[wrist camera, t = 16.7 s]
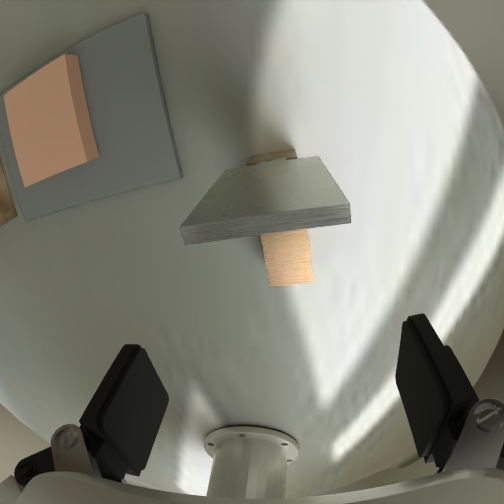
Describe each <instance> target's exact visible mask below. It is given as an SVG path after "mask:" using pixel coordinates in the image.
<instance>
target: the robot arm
mask: <svg viewBox="0 0 504 504" xmlns="http://www.w3.org/2000/svg"><path fill="white" fill-rule="evenodd" d="M395 377H396V384H397V387H398V390H399V393H400V396H401V399H402V402H403V405H404V408H405V412H406V415H407V418H408V421H409V425H410V428H411V431H412V435H413V438H414V442H415V445H416V449H417V452H418V455H419V457H423V456H424V459H425V463H429V462H432V461H435V464H436V467H438V470H437V472H436V474H433V475H430V476H425V477H421V478H417V479H413V480H409V481H405V482H401V483H397V484H392V485H387V486H382V487H377V488H372V489H366V490H360V491H354V492H348V493H341V494H333V495H325V496H314V497H301V498H285V490H286V467H287V465H288V464H290V463H292V462H294V461H295V460H296V459H297V457H298V456H299V446H298V444H297V442H296V441H295V440H294V439H293V438H291V437H290V436H288V435H286V434H284V433H281V432H278V431H275V430H271V429H266V428H260V427H250V426H237V427H227V428H222V429H219V430H216V431H214V432H212V433H210V434H209V435H208V436H207V437H206V439H205V444H204V448H205V451H206V452H207V453H208V455H210V456H211V457H212V458H213V465H212V470H211V475H210V480H209V485H208V491H207V496H197V495H188V494H180V493H173V492H166V491H160V490H154V489H149V488H144V487H139V486H134V485H130V484H127V482H126V480H125V478H124V477H125V474H126V473H127V474H130V475H135V476H139V475H140V473H141V470H144V469H145V467H146V464H147V461H148V458H149V456H150V453H151V450H152V447H153V444H154V441H155V439H156V436H157V433H158V430H159V427H160V425H161V422H162V419H163V416H164V413H165V411H166V408H167V405H168V402H169V397H168V394H167V392H166V390H165V388H164V386H163V384H162V382H161V380H160V379H159V377H158V375H157V373H156V371H155V369H154V367H153V365H152V363H151V361H150V359H149V357H148V355H147V353H146V351H145V349H144V348H142V347H141V346H140V345H138V344H126V345H124V346H123V347H122V349H121V350H120V352H119V354H118V355H117V357H116V359H115V360H114V362H113V364H112V365H111V367H110V369H109V370H108V372H107V374H106V375H105V377H104V379H103V380H102V382H101V384H100V385H99V387H98V389H97V390H96V392H95V394H94V396H93V397H92V399H91V401H90V403H89V404H88V406H87V408H86V410H85V411H84V413H83V415H82V417H81V418H80V420H79V422H80V423H81V426H80V427H78V426H76V425H74V424H67V425H63V426H62V427H60V428H58V429H57V430H56V431H55V432H54V434H53V435H52V438H51V447H49V448H47V449H44V450H42V451H40V452H38V453H36V454H33V455H31V456H29V457H27V458H24V459H23V460H21V461H20V462H19V463H18V464H17V466H16V468H15V472H14V474H15V475H14V476H15V477H14V476H12V475H10V476H9V477H8V478H7V479H5V480H4V481H3V482H2V483H0V504H504V404H503V403H502V402H501V401H498V400H496V399H490V398H488V399H482V400H480V401H479V399H478V397H477V395H476V393H475V391H474V389H473V387H472V385H471V383H470V381H469V380H468V378H467V376H466V374H465V372H464V370H463V369H462V367H461V365H460V363H459V362H458V360H457V358H456V356H455V355H454V353H453V351H452V349H451V348H450V347H449V346H447V345H445V346H443V344H442V342H441V340H440V339H439V337H438V335H437V334H436V332H435V330H434V329H433V327H432V325H431V324H430V322H429V320H428V319H427V317H426V316H425V314H423V313H422V314H417V315H412V316H409V317H408V318H407V321H404V322H403V324H402V333H401V341H400V349H399V356H398V362H397V369H396V376H395Z"/></svg>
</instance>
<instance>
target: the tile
mask: <svg viewBox="0 0 504 504" xmlns="http://www.w3.org/2000/svg"><path fill="white" fill-rule="evenodd" d="M4 101H5V107H6V113H7V118H8V124H9V129H10V133H11V138H12V142H13V146H14V151H15V155H16V159H17V162H18V166H19V170H20V173H21V177H22V180H23V183H24V187H27V186H30V185H32V184H34V183H36V182H39V181H41V180H43V179H45V178H48V177H50V176H53V175H55V174H57V173H60V172H62V171H65V170H67V169H70V168H73V167H75V166H78V165H80V164H83V163H86V162H88V161H91V160H93V159H96V158H98V157H99V153H98V149H97V145H96V141H95V137H94V133H93V129H92V125H91V121H90V116H89V112H88V107H87V103H86V98H85V93H84V88H83V83H82V77H81V72H80V66H79V60H78V55H70V54H64V55H62V56H60V57H59V58H57V59H55V60H54V61H52V62H51V63H49V64H47V65H46V66H44V67H43V68H41V69H40V70H38V71H37V72H35V73H34V74H32V75H31V76H29V77H28V78H26V79H25V80H24V81H22V82H21V83H19V84H18V85H17V86H15V87H14V88H13V89H11V90H10V91H9V92H7V93H6V94H5V95H4Z"/></svg>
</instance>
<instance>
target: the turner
mask: <svg viewBox="0 0 504 504" xmlns="http://www.w3.org/2000/svg"><path fill="white" fill-rule="evenodd" d="M246 165H247V166H246V167H240V168H234V169H229V170H225V171H224V172H223V173H222V175H221V176H220V177H219V178H218V179H217V181H216V182H215V183H214V184H213V186H212V187H211V188H210V189H209V191H208V192H207V193H206V194H205V196H204V197H203V198H202V199H201V201H200V202H199V203H198V205H197V206H196V207H195V208H194V210H193V211H192V212H191V213H190V215H189V216H188V217H187V219H186V220H185V221H184V223H183V224H182V225H181V227H180V229H181V233H182V236H183V240H184V243H185V245H190V244H197V243H204V242H211V241H218V240H225V239H232V238H239V237H247V236H254V235H260V236H261V242H262V247H263V252H264V257H265V262H266V268H267V273H268V278H269V284H270V287H275V286H284V285H292V284H301V283H309V282H313V275H312V265H311V256H310V247H309V239H308V231H307V228H315V227H323V226H331V225H339V224H347V223H351V213H350V203H349V201H348V200H347V198H346V197H345V195H344V193H343V192H342V190H341V189H340V187H339V186H338V184H337V183H336V181H335V180H334V178H333V177H332V175H331V174H330V172H329V171H328V169H327V168H326V166H325V165H324V163H323V162H322V161H321V159H320V158H319V156H314V157H306V158H299V159H297V155H296V151H295V150H288V151H281V152H275V153H268V154H262V155H256V156H251V157H250V159H249V161H248V163H247V164H246Z"/></svg>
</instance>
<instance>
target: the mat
mask: <svg viewBox="0 0 504 504" xmlns="http://www.w3.org/2000/svg"><path fill="white" fill-rule="evenodd" d="M64 54H70V55H78V60H79V66H80V72H81V77H82V83H83V88H84V93H85V98H86V103H87V107H88V112H89V116H90V121H91V125H92V129H93V133H94V137H95V141H96V145H97V149H98V153H99V157H98V158H96V159H93V160H91V161H88V162H86V163H83V164H80V165H78V166H75V167H73V168H70V169H67V170H65V171H62V172H60V173H57V174H55V175H53V176H50V177H48V178H45V179H43V180H41V181H39V182H36V183H34V184H32V185H30V186H27V187H24V183H23V180H22V177H21V173H20V170H19V166H18V162H17V159H16V155H15V151H14V146H13V142H12V138H11V133H10V129H9V124H8V118H7V113H6V107H5V101H4V95H5V94H6V93H7V92H9V91H10V90H11V89H13V88H14V87H15V86H17V85H18V84H19V83H21V82H22V81H24V80H25V79H26V78H28V77H29V76H31V75H32V74H34V73H35V72H37V71H38V70H40V69H41V68H43V67H44V66H46V65H47V64H49V63H51V62H52V61H54V60H55V59H57V58H59V57H60V56H62V55H64ZM0 135H1V139H2V144H3V148H4V152H5V156H6V160H7V164H8V168H9V172H10V175H11V179H12V182H13V185H14V189H15V192H16V195H17V198H18V201H19V204H20V207H21V210H22V213H23V216H24V219H25V221H29V220H31V219H34V218H37V217H40V216H43V215H47V214H50V213H53V212H56V211H59V210H62V209H65V208H69V207H72V206H75V205H79V204H82V203H86V202H89V201H93V200H96V199H100V198H103V197H107V196H111V195H114V194H118V193H122V192H126V191H130V190H134V189H138V188H142V187H146V186H150V185H154V184H158V183H163V182H167V181H172V180H176V179H180V178H182V177H183V174H182V170H181V166H180V162H179V158H178V154H177V150H176V146H175V141H174V137H173V133H172V129H171V124H170V120H169V116H168V111H167V107H166V102H165V98H164V93H163V89H162V84H161V79H160V74H159V69H158V65H157V60H156V55H155V49H154V44H153V39H152V34H151V28H150V23H149V17H148V14H147V13H145V12H144V13H141V14H138V15H136V16H134V17H131V18H129V19H126V20H124V21H122V22H120V23H117V24H115V25H113V26H111V27H109V28H106V29H104V30H102V31H100V32H98V33H96V34H94V35H92V36H90V37H88V38H87V39H85V40H83V41H81V42H79V43H77V44H75V45H74V46H72V47H70V48H68V49H67V50H65V51H63V52H62V53H60V54H58V55H57V56H55V57H53V58H52V59H50V60H48V61H47V62H45V63H44V64H42V65H41V66H39V67H38V68H36V69H35V70H33V71H32V72H30V73H29V74H28V75H26V76H25V77H23V78H22V79H20V80H19V81H18V82H16V83H15V84H14V85H12V86H11V87H10V88H8V89H7V90H6V91H5V92H3V93H2V94H1V95H0Z"/></svg>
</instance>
